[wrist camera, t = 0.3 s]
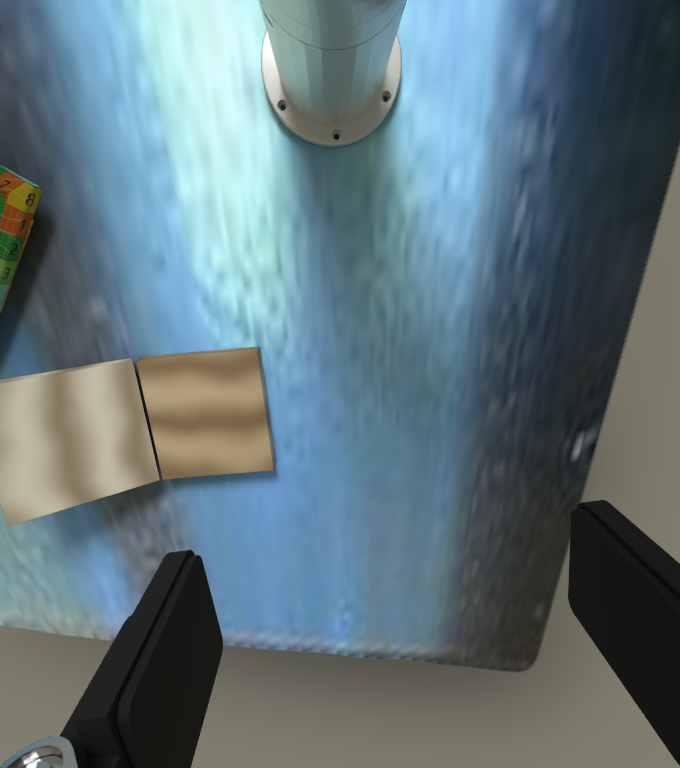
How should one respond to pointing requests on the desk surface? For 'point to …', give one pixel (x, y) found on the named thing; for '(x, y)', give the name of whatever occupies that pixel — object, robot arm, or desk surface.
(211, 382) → the oak floorboard
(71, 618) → the desk surface
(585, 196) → the desk surface
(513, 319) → the desk surface
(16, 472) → the birch plank
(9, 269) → the puzzle game
